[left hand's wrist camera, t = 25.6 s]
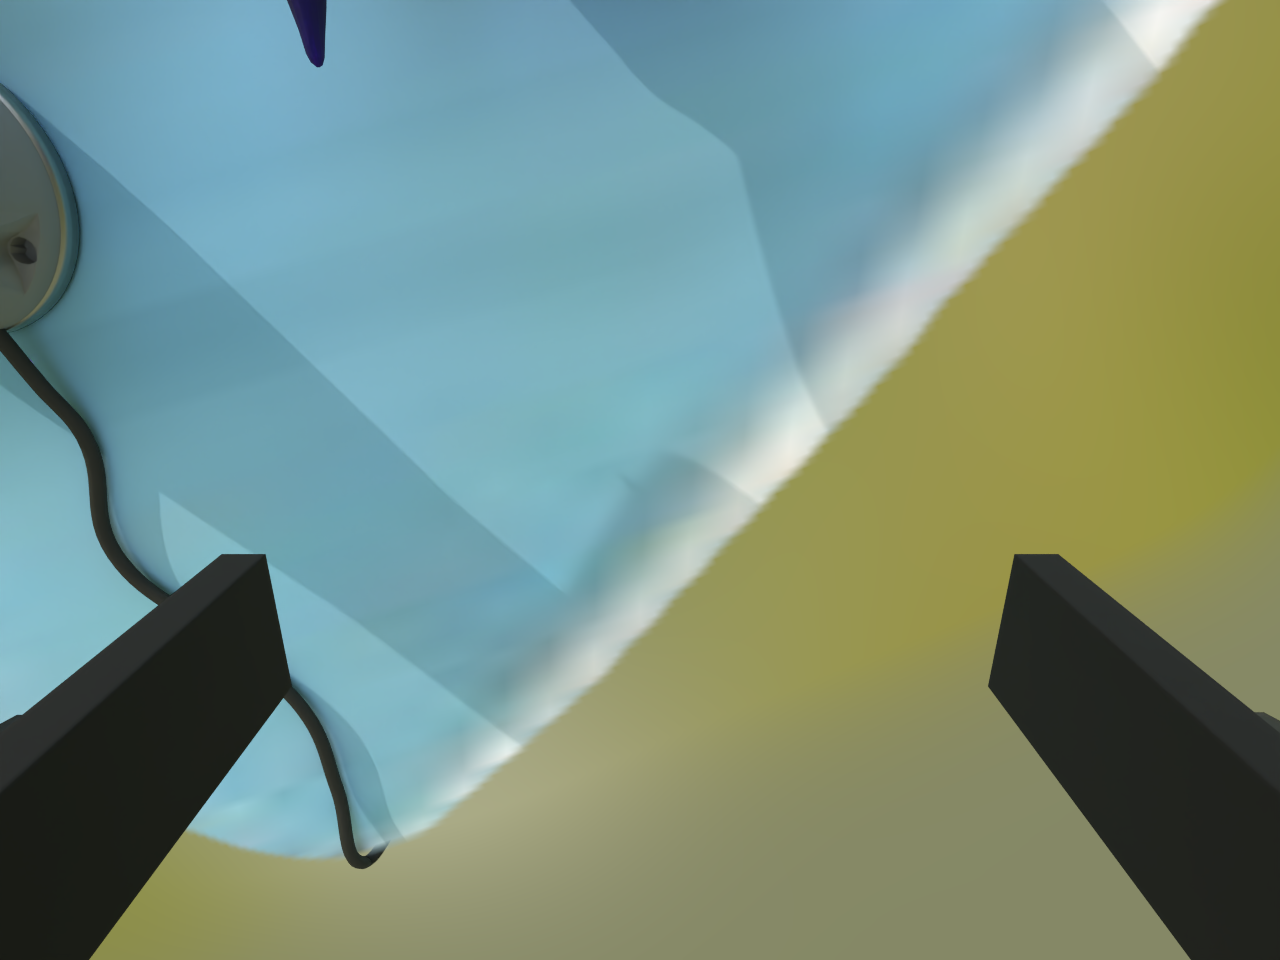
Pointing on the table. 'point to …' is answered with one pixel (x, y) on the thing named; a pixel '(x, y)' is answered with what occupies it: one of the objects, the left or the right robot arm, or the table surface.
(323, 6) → the toy
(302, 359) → the table surface
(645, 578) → the table surface
